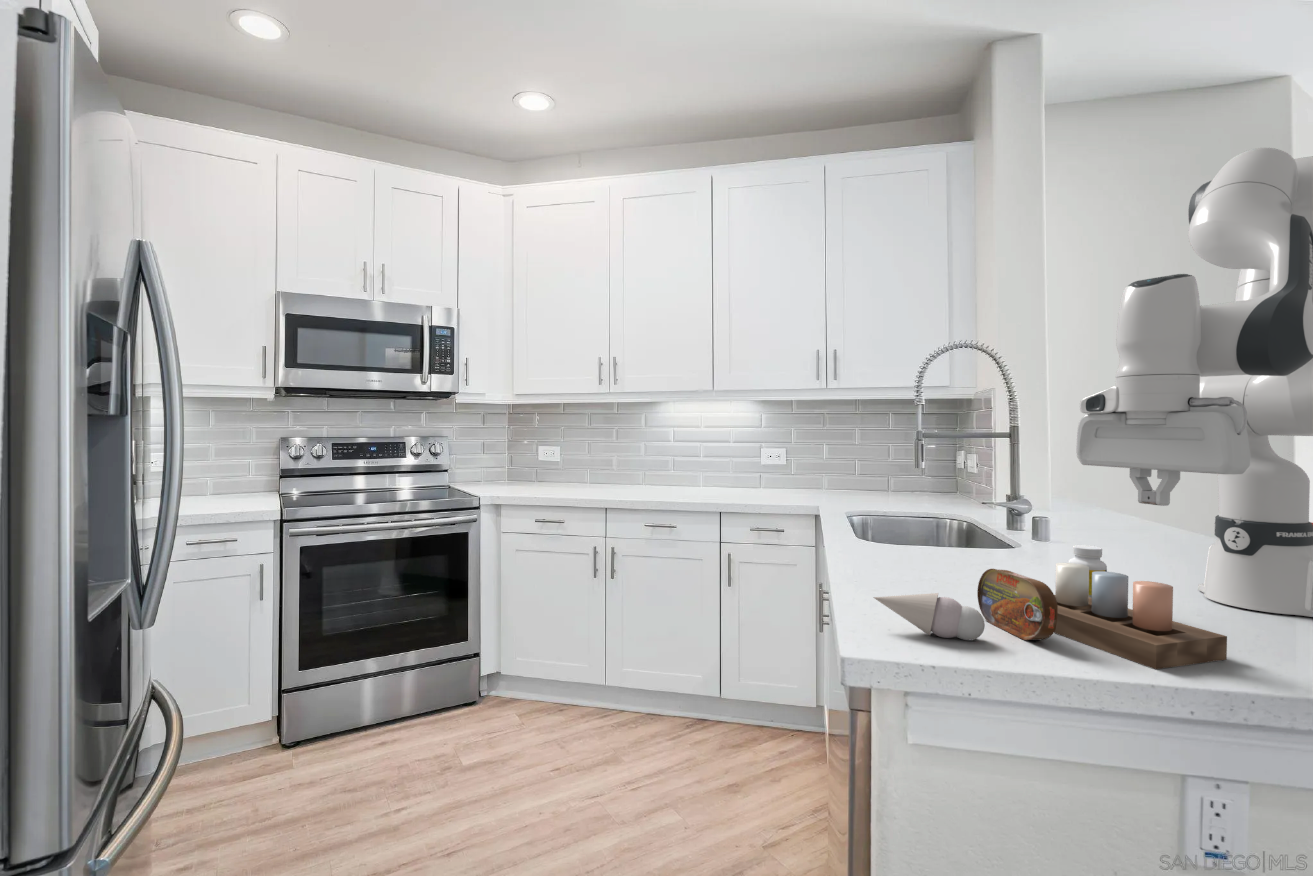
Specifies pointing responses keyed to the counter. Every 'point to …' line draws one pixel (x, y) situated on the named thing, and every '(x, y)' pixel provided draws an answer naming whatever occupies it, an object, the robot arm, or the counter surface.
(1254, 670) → the counter surface
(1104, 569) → the supplement bottle
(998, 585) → the tin
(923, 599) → the ice cream cone
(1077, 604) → the key ivory
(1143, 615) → the salmon pink cylinder
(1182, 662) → the wooden spice rack
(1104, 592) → the key slate
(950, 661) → the counter surface
